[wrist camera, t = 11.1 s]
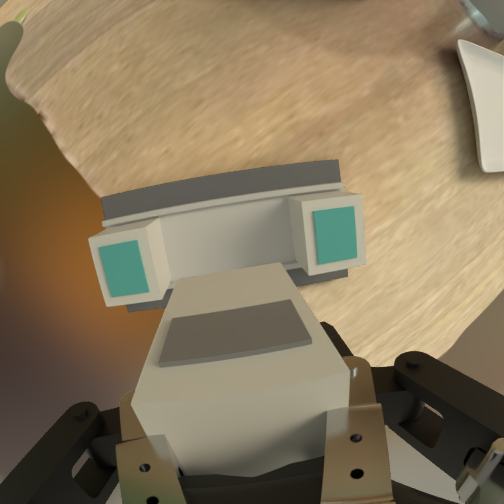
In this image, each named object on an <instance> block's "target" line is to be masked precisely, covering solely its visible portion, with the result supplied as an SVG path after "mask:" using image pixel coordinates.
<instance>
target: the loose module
mask: <svg viewBox="0 0 504 504" xmlns="http://www.w3.org/2000/svg"><path fill="white" fill-rule="evenodd" d="M349 387H350V370H349V368H348V367H347V365H346V364H345V362H344V360H343V359H342V357H341V356H340V354H339V353H338V351H337V349H336V348H335V346H334V345H333V343H332V341H331V340H330V338H329V337H328V335H327V334H326V332H325V331H324V329H323V327H322V326H321V324H320V323H319V321H318V320H317V318H316V316H315V315H314V313H313V312H312V310H311V309H310V307H309V306H308V304H307V303H306V301H305V299H304V298H303V296H302V295H301V293H300V292H299V290H298V289H297V287H296V286H295V284H294V282H293V281H292V279H291V278H290V276H289V275H288V273H287V272H286V270H285V269H284V267H283V266H282V264H281V263H280V262H277V263H271V264H265V265H259V266H253V267H247V268H241V269H235V270H229V271H223V272H217V273H211V274H205V275H199V276H192V277H186V278H180V279H177V282H176V284H175V287H174V289H173V292H172V294H171V297H170V299H169V302H168V304H167V307H166V309H165V312H164V314H163V317H162V320H161V322H160V324H159V327H158V330H157V332H156V335H155V337H154V340H153V343H152V346H151V348H150V351H149V353H148V356H147V359H146V362H145V364H144V367H143V370H142V373H141V376H140V378H139V381H138V384H137V387H136V390H135V393H134V396H133V398H132V401H131V406H132V408H133V410H134V412H135V414H136V416H137V418H138V420H139V422H140V423H141V425H142V427H143V429H144V431H145V433H146V435H147V436H152V435H162V434H165V436H166V438H167V439H168V441H169V443H170V445H171V447H172V449H173V451H174V453H175V455H176V457H177V459H178V460H179V462H180V464H181V466H182V468H183V469H184V471H185V473H186V475H187V476H190V475H208V474H221V475H231V476H243V477H256V476H259V475H262V474H265V473H267V472H270V471H273V470H275V469H278V468H280V467H283V466H285V465H288V464H290V463H295V462H300V461H304V460H309V459H313V458H317V457H321V456H325V444H326V425H327V410H332V409H337V408H343V407H348V405H349Z"/></svg>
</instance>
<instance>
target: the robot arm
mask: <svg viewBox="0 0 504 504" xmlns="http://www.w3.org/2000/svg"><path fill="white" fill-rule="evenodd" d="M320 324H321V326H322V327H323V329H324V331H325V332H326V334H327V335H328V337H329V338H330V340H331V341H332V343H333V345H334V346H335V348H336V349H337V351H338V353H339V354H340V356H341V357H342V359H343V360H344V362H345V364H346V365H347V367H348V368H349V370H350V387H349V405H348V407H343V408H337V409H332V410H327V425H326V444H325V456H321V457H317V458H313V459H309V460H304V461H300V462H295V463H290V464H288V465H285V466H283V467H280V468H278V469H275V470H273V471H270V472H267V473H265V474H262V475H259V476H256V477H243V476H231V475H221V474H208V475H190V476H187V475H186V473H185V471H184V469H183V468H182V466H181V464H180V462H179V460H178V459H177V457H176V455H175V453H174V451H173V449H172V447H171V445H170V443H169V441H168V439H167V438H166V436H165V434H162V435H152V436H147V435H146V433H145V431H144V429H143V427H142V425H141V423H140V422H139V420H138V418H137V416H136V414H135V412H134V410H133V408H132V406H131V401H132V398H133V396H134V393H135V390H136V389H135V390H133V391H130V392H128V393H127V394H126V395H124V396H123V397H122V399H121V400H120V404H119V407H117V408H114V409H110V410H106V411H101V412H100V411H99V409H98V407H97V406H96V405H95V404H94V403H92V402H80V403H77V404H75V405H73V406H71V407H70V408H69V409H68V410H67V411H66V412H65V413H64V414H63V415H62V416H61V417H60V418H59V419H58V420H57V421H56V423H55V424H54V425H53V426H52V427H51V428H50V429H49V430H48V431H47V432H46V433H45V435H44V436H43V437H42V438H41V439H40V440H39V441H38V442H37V443H36V444H35V446H34V447H33V448H32V449H31V450H30V451H29V452H28V453H27V455H26V456H25V457H24V458H23V459H22V460H21V461H20V462H19V463H18V465H17V466H16V467H15V468H14V469H13V470H12V471H11V473H10V474H9V475H8V476H7V477H6V479H4V481H3V482H2V483H1V484H0V504H105V503H106V501H107V500H108V498H109V497H110V495H111V493H112V492H113V490H114V489H115V487H116V485H117V484H118V482H119V483H120V490H121V497H122V504H458V503H456V502H452V501H449V500H446V499H443V498H439V497H436V496H433V495H431V494H427V493H425V492H422V491H419V490H416V489H414V488H411V487H409V486H406V485H403V484H401V483H398V482H395V481H393V480H391V473H390V463H389V454H388V447H387V439H386V431H385V425H388V427H389V428H390V429H391V430H392V431H394V432H395V433H396V434H397V435H399V436H400V437H401V438H402V439H404V440H405V441H406V442H407V443H408V444H410V445H411V446H412V447H413V448H415V449H416V450H417V451H419V452H420V453H421V454H422V455H424V456H425V457H426V458H427V459H429V460H430V461H431V462H432V463H434V464H435V465H436V466H437V467H439V468H440V469H441V470H443V471H444V472H445V473H447V474H448V475H449V476H450V477H452V478H453V479H454V480H456V491H457V493H458V495H459V500H460V501H461V502H463V503H465V504H504V396H503V395H502V394H499V393H498V392H496V391H494V390H492V389H490V388H489V387H487V386H485V385H483V384H481V383H479V382H478V381H476V380H474V379H472V378H470V377H468V376H466V375H465V374H463V373H461V372H459V371H457V370H455V369H454V368H452V367H450V366H448V365H446V364H444V363H442V362H441V361H439V360H437V359H435V358H433V357H432V356H430V355H428V354H426V353H423V352H419V351H409V352H405V353H403V354H401V355H399V356H398V357H397V358H396V360H395V363H394V366H388V367H370V364H369V362H368V361H366V360H365V359H363V358H361V357H356V356H354V355H353V354H352V352H351V351H350V350H349V348H348V347H347V345H346V344H345V342H344V341H343V340H342V339H341V337H340V335H339V334H338V333H337V331H336V330H335V328H334V327H333V326H332V325H330V324H328V323H326V322H320ZM425 403H426V404H428V405H429V406H431V407H432V408H434V409H435V410H437V411H438V412H439V413H441V415H442V416H443V418H444V419H443V418H441V417H440V416H438V415H437V414H436V413H434V412H432V411H431V410H430V409H428V408H427V407H425ZM84 452H86V453H87V455H88V456H89V458H88V460H87V461H86V462H85V464H84V465H83V466H82V468H81V469H80V471H79V472H78V473H77V475H76V476H75V477H74V479H73V477H72V472H71V471H72V468H73V466H74V465H75V463H76V462H77V461H78V459H79V458H80V457H81V455H82V454H83V453H84Z"/></svg>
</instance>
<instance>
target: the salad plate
mask: <svg viewBox="0 0 504 504" xmlns="http://www.w3.org/2000/svg"><path fill="white" fill-rule="evenodd" d="M456 50H457V54H458V58H459V61H460V64H461V68H462V71H463V75H464V78H465V82H466V86H467V91H468V95H469V99H470V104H471V110H472V115H473V122H474V129H475V137H476V147H477V156H478V162H479V165H480V168H481V169H482V171H483V172H485V173H495V172H504V56H503V55H501V54H498V53H496V52H493V51H491V50H488V49H486V48H484V47H481V46H479V45H476V44H474V43H471V42H468V41H465V40H461V39H459V40H457V42H456Z"/></svg>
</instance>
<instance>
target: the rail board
mask: <svg viewBox="0 0 504 504" xmlns="http://www.w3.org/2000/svg"><path fill="white" fill-rule="evenodd" d="M343 188H345V182H341V179H340V170H339V162H338V159H337V160H325V161H315V162H305V163H295V164H286V165H278V166H270V167H262V168H255V169H248V170H241V171H234V172H227V173H221V174H215V175H209V176H203V177H197V178H191V179H186V180H181V181H175V182H170V183H165V184H160V185H155V186H150V187H145V188H141V189H136V190H131V191H127V192H123V193H118V194H114V195H110V196H106V197H101V201H102V206H103V212H104V217H105V220H104V221H102V226H103V227H104V226H105V228H106V229H105V230H103V231H102V232H100V233H98V234H96V235H94V236H92V237H90V238H88V241H89V245H90V249H91V253H92V257H93V261H94V265H95V269H96V272H97V276H98V280H99V283H100V287H101V290H102V294H103V297H104V300H105V303H106V307H110V306H118V305H126V306H127V309H128V312H134V311H143V310H150V309H158V308H165V307H167V304H168V302H169V299H170V297H171V294H172V292H173V289H174V287H175V284H176V282H177V279H180V278H186V277H192V276H199V275H205V274H211V273H217V272H223V271H229V270H235V269H241V268H247V267H253V266H259V265H265V264H271V263H277V262H280V263H281V264H282V266H283V267H284V269H285V270H286V272H287V273H288V275H289V276H290V278H291V279H292V281H293V282H294V284H295V286H302V285H307V284H313V283H318V282H323V281H328V280H333V279H338V278H344V277H348V268H353V267H358V266H363V265H366V253H365V232H364V216H363V203H362V194H358V193H352V192H346V191H343Z"/></svg>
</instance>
